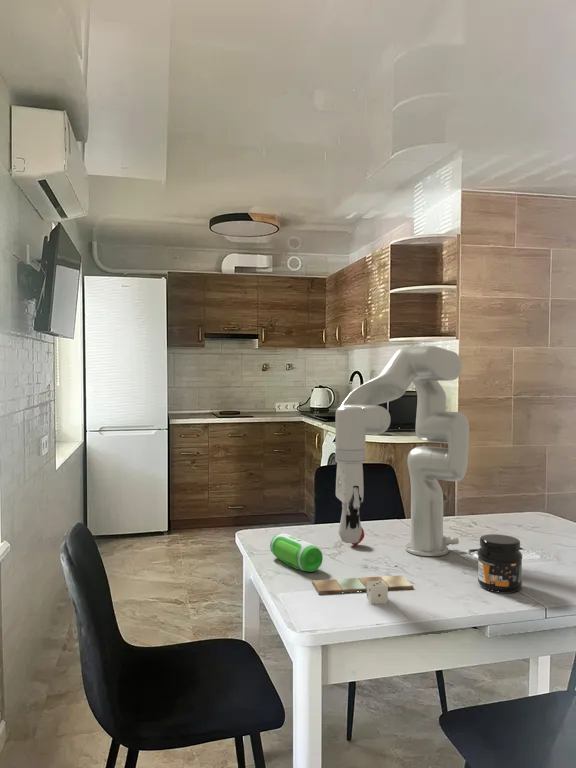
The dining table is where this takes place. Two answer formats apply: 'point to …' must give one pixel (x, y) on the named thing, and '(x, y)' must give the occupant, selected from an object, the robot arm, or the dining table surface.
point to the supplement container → (500, 563)
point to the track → (359, 584)
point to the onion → (360, 538)
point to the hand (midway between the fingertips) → (350, 528)
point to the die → (377, 592)
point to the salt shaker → (348, 528)
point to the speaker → (296, 552)
